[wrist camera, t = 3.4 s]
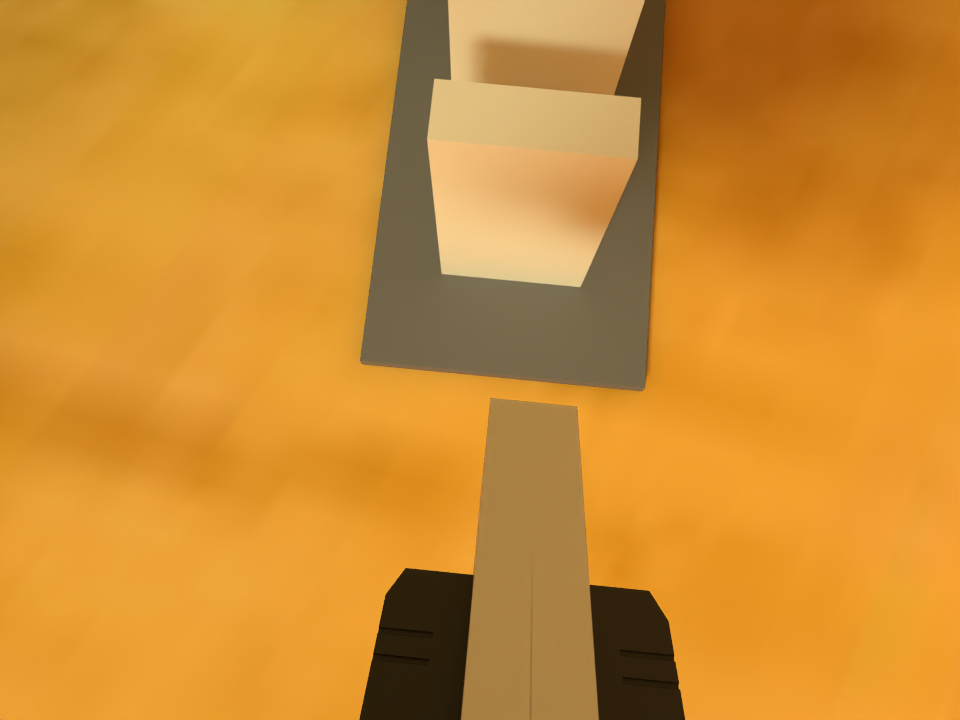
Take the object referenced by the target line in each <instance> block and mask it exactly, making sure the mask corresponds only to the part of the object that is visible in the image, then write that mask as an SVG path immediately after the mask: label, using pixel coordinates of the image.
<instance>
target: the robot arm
mask: <svg viewBox="0 0 960 720" xmlns="http://www.w3.org/2000/svg"><path fill="white" fill-rule="evenodd" d="M678 685H679V680H678V675H677V669H676V663H675V662H674V651H673V645H672V639H671V633H670V627H669V621H668V620H667V618H666V617H665V615H664V614H663V612H662V610H661V609H660V607H659V606H658V604H657V602H656V601H655V599H654V598H653V596H652V595H651V593H650V591H645V590H635V589H625V588H616V587H606V586H596V585H589V571H588V557H587V542H586V528H585V513H584V498H583V484H582V469H581V455H580V440H579V426H578V411H577V407H576V406H566V405H556V404H546V403H536V402H526V401H516V400H506V399H495V398H491V399H490V409H489V419H488V428H487V438H486V448H485V458H484V468H483V477H482V487H481V497H480V507H479V517H478V528H477V538H476V549H475V560H474V571H473V575H468V574H458V573H449V572H439V571H429V570H419V569H409V568H406V569H405V570H404V571H403V572H402V574H401V575H400V576H399V578H398V579H397V580H396V582H395V583H394V584H393V586H392V587H391V588H390V590H389V591H388V592H387V594H386V596H385V600H384V605H383V610H382V615H381V619H380V624H379V631H378V634H377V639H376V643H375V648H374V653H373V660H372V662H371V667H370V672H369V677H368V682H367V686H366V691H365V696H364V701H363V705H362V710H361V715H360V720H685V716H684V710H683V704H682V698H681V692H680V690H679V687H678Z"/></svg>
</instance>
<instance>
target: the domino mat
mask: <svg viewBox="0 0 960 720" xmlns="http://www.w3.org/2000/svg"><path fill="white" fill-rule="evenodd" d="M664 19H665V0H645V1H644V5H643V8H642V11H641V14H640V17H639V20H638V23H637V26H636V29H635V32H634V35H633V38H632V41H631V44H630V47H629V50H628V53H627V56H626V59H625V63H624V66H623V69H622V72H621V75H620V78H619V81H618V84H617V87H616V90H615V93H614V95H615V96H626V97H636V98H641V111H640V128H639V145H638V160H637V162H636V164H635V166H634V168H633V171H632V173H631V175H630V177H629V180H628V182H627V184H626V186H625V189H624V191H623V193H622V195H621V198H620V200H619V202H618V204H617V207H616V209H615V211H614V213H613V215H612V218H611V220H610V222H609V224H608V227H607V229H606V231H605V233H604V236H603V238H602V240H601V242H600V245H599V247H598V249H597V251H596V254H595V256H594V258H593V260H592V262H591V265H590V267H589V269H588V271H587V274H586V276H585V278H584V280H583V283H582V285H581V287H574V286H563V285H553V284H542V283H532V282H521V281H511V280H500V279H490V278H479V277H469V276H458V275H448V274H442V273H441V264H440V254H439V245H438V236H437V226H436V217H435V208H434V199H433V189H432V180H431V171H430V162H429V152H428V143H427V136H428V127H429V119H430V111H431V102H432V94H433V86H434V79H444V80H451V61H450V37H449V12H448V0H407V7H406V15H405V23H404V30H403V38H402V45H401V53H400V61H399V68H398V76H397V84H396V91H395V99H394V106H393V114H392V122H391V129H390V137H389V145H388V152H387V160H386V168H385V175H384V183H383V190H382V198H381V206H380V213H379V221H378V229H377V236H376V244H375V251H374V259H373V267H372V274H371V282H370V290H369V297H368V305H367V313H366V320H365V328H364V335H363V343H362V351H361V358H360V361H361V363H362V364H365V365H376V366H386V367H396V368H407V369H417V370H427V371H438V372H448V373H458V374H469V375H479V376H490V377H500V378H510V379H521V380H531V381H541V382H552V383H562V384H572V385H583V386H593V387H604V388H614V389H624V390H635V391H642V390H644V389H645V382H646V363H647V343H648V324H649V305H650V286H651V267H652V248H653V229H654V210H655V191H656V171H657V152H658V133H659V114H660V95H661V76H662V57H663V38H664Z"/></svg>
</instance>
